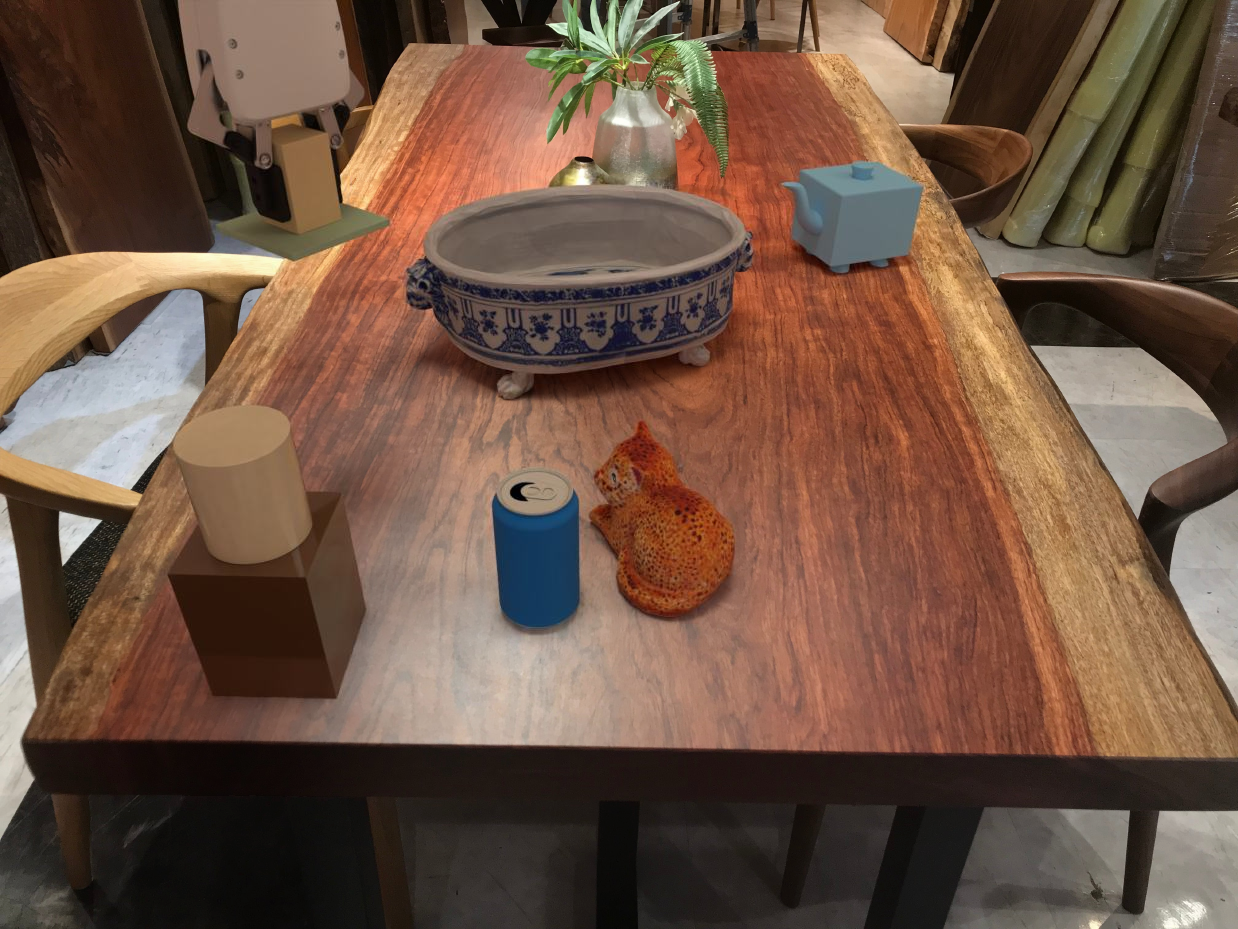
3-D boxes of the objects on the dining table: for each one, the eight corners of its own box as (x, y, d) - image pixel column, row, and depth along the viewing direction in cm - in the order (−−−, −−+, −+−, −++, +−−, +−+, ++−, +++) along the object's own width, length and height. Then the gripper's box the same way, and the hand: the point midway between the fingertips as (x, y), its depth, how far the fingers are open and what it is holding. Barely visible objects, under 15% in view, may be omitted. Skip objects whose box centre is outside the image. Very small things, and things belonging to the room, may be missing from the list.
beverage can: (510, 574, 76) (502, 459, 69) (585, 582, 75) (585, 467, 68) (491, 629, 70) (480, 512, 63) (571, 639, 70) (570, 521, 63)
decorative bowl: (701, 276, 125) (710, 169, 117) (795, 366, 105) (814, 245, 96) (396, 319, 113) (380, 203, 104) (437, 430, 93) (421, 298, 84)
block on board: (293, 262, 63) (273, 161, 59) (216, 231, 67) (192, 135, 63) (390, 225, 69) (378, 131, 65) (314, 200, 73) (298, 110, 69)
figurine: (568, 522, 81) (567, 431, 75) (671, 491, 85) (677, 402, 79) (649, 635, 70) (654, 538, 64) (762, 593, 74) (777, 498, 69)
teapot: (878, 235, 139) (896, 145, 131) (921, 263, 131) (944, 169, 122) (752, 253, 132) (763, 159, 124) (789, 283, 124) (804, 185, 116)
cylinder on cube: (336, 698, 65) (280, 478, 53) (212, 695, 65) (129, 474, 53) (366, 609, 72) (323, 398, 60) (255, 606, 72) (190, 394, 60)
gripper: (316, -87, 63) (355, 171, 74) (84, -73, 52) (169, 229, 63) (389, -80, 60) (418, 191, 71) (157, -62, 49) (234, 255, 59)
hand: (300, 206), depth 67 cm, fingers closed on block on board, 4 cm apart
